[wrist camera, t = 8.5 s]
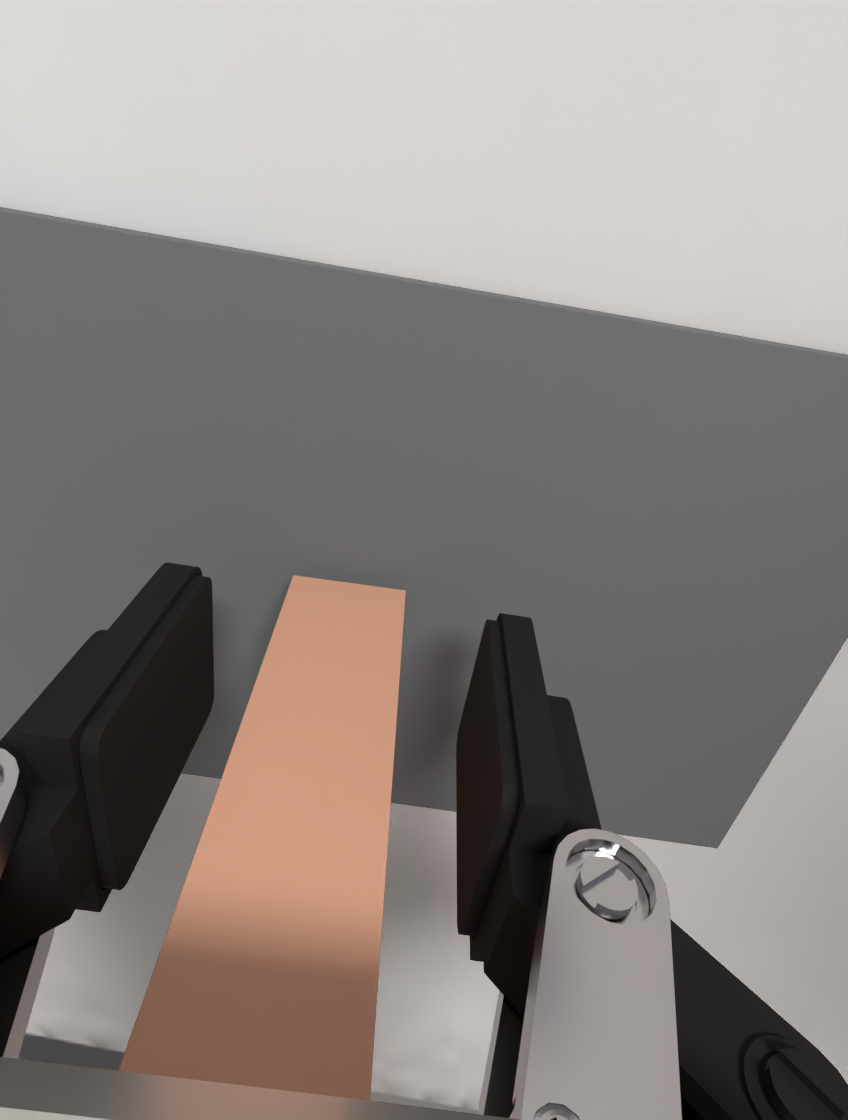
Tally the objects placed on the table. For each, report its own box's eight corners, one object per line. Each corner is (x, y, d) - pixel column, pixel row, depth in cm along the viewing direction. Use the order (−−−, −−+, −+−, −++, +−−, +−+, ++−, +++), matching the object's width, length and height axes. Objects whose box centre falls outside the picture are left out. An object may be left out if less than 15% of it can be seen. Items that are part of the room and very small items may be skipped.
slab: (354, 1314, 4) (305, 1409, 8) (406, 590, 12) (367, 809, 16) (38, 1299, 4) (135, 1401, 8) (293, 574, 12) (282, 800, 16)
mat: (976, 377, 10) (1003, 385, 10) (708, 827, 16) (717, 847, 16) (-225, 167, 10) (-263, 164, 9) (-52, 720, 16) (-70, 737, 15)
